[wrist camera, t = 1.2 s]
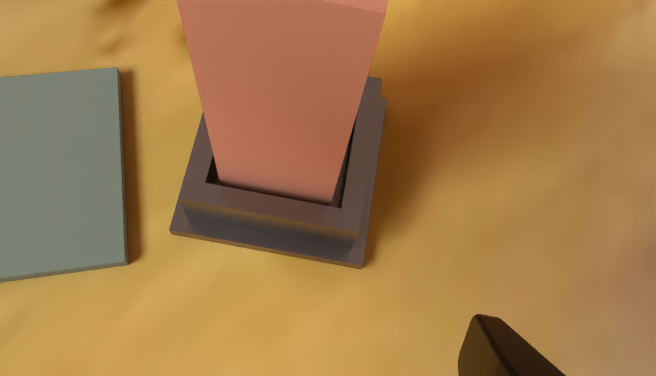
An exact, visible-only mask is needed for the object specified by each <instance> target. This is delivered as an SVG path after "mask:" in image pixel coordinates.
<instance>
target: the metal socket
mask: <svg viewBox="0 0 656 376" xmlns="http://www.w3.org/2000/svg"><path fill="white" fill-rule="evenodd" d="M381 84H382V79H379V78H374V77H369V76H368V77H367V80H366V83H365V87H364V90H363V94H362V97H361V101H360V104H359V108H358V111H357V114H356V118H355V121H354V125H353V128H352V132H351V135H350V139H349V142H348V146H347V149H346V152H345V156H344V159H343V163H342V166H341V170H340V173H339V177H338V180H337V184H336V187H335V190H334V194H333V197H332V201H331V204H330V206H326V205H320V204H315V203H310V202H304V201H299V200H294V199H288V198H283V197H278V196H272V195H267V194H262V193H257V192H251V191H246V190H241V189H235V188H230V187H225V186H221V185H220V180H219V176H218V172H217V168H216V164H215V159H214V155H213V151H212V147H211V142H210V138H209V134H208V130H207V126H206V121H205V117H204V113H203V114H202V118H201V121H200V125H199V128H198V132H197V135H196V139H195V142H194V145H193V149H192V152H191V156H190V159H189V163H188V166H187V170H186V173H185V177H184V180H183V184H182V187H181V191H180V194H179V198H178V201H177V205H176V208H175V212H174V215H173V219H172V222H171V225H170V229H169V230H170V232H171V234H174V235H179V236H184V237H190V238H195V239H201V240H206V241H211V242H217V243H222V244H228V245H233V246H238V247H244V248H249V249H254V250H260V251H265V252H271V253H276V254H281V255H287V256H292V257H298V258H303V259H308V260H314V261H319V262H325V263H330V264H335V265H341V266H346V267H351V268H357V269H361V268H362V267H363V262H364V255H365V248H366V241H367V234H368V228H369V221H370V214H371V207H372V200H373V193H374V186H375V179H376V172H377V165H378V158H379V151H380V144H381V137H382V130H383V123H384V116H385V110H386V103H387V99H384V98H379V97H380V91H381Z"/></svg>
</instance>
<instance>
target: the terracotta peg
mask: <svg viewBox="0 0 656 376" xmlns="http://www.w3.org/2000/svg"><path fill="white" fill-rule="evenodd" d="M387 2H388V0H177V3H178V7H179V12H180V16H181V20H182V24H183V29H184V33H185V37H186V41H187V45H188V50H189V54H190V58H191V62H192V66H193V71H194V75H195V79H196V83H197V88H198V92H199V96H200V100H201V104H202V109H203V113H204V117H205V121H206V126H207V130H208V134H209V138H210V142H211V147H212V151H213V155H214V159H215V164H216V168H217V172H218V176H219V180H220V185H221V186H225V187H230V188H235V189H241V190H246V191H251V192H257V193H262V194H267V195H272V196H278V197H283V198H288V199H294V200H299V201H304V202H310V203H315V204H320V205H326V206H330V204H331V201H332V197H333V194H334V190H335V187H336V184H337V180H338V177H339V173H340V170H341V166H342V163H343V159H344V156H345V152H346V149H347V146H348V142H349V139H350V135H351V132H352V128H353V125H354V121H355V118H356V114H357V111H358V108H359V104H360V101H361V97H362V94H363V90H364V87H365V83H366V80H367V77H368V73H369V70H370V66H371V63H372V59H373V56H374V52H375V49H376V45H377V42H378V39H379V35H380V32H381V28H382V25H383V21H384V18H385V14H386V9H387Z"/></svg>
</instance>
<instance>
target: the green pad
mask: <svg viewBox="0 0 656 376" xmlns="http://www.w3.org/2000/svg"><path fill="white" fill-rule="evenodd" d="M124 265H128V241H127V218H126V194H125V170H124V146H123V122H122V98H121V75H120V73H119V70H118V68H117V67H115V68H104V69H92V70H81V71H69V72H57V73H46V74H34V75H23V76H11V77H0V282H7V281H14V280H21V279H29V278H36V277H43V276H51V275H58V274H65V273H72V272H80V271H87V270H94V269H102V268H109V267H116V266H124Z"/></svg>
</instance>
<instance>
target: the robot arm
mask: <svg viewBox="0 0 656 376" xmlns="http://www.w3.org/2000/svg"><path fill="white" fill-rule="evenodd" d="M458 374H459V376H566V375H564V374H563V373H562V372H561V371H560V370H559V369H558V368H556V367H555V366H554V365H553V364H552V363H551V362H550V361H548V360H547V359H546V358H545V357H544V356H543V355H542V354H540V353H539V352H538V351H537V350H536V349H535V348H534V347H532V346H531V345H530V344H529V343H528V342H527V341H526V340H524V339H523V338H522V337H521V336H520V335H519V334H518V333H516V332H515V331H514V330H513V329H512V328H511V327H510V326H508V325H507V324H506V323H505V322H504V321H503V320H501V319H500V318H498V317H493V316H488V315H482V314H476V315H475V316H474V317H473V318H472V320H471V322H470V325H469V327H468V330H467V333H466V336H465V339H464V342H463V345H462V347H461V350H460V354H459V359H458Z"/></svg>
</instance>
